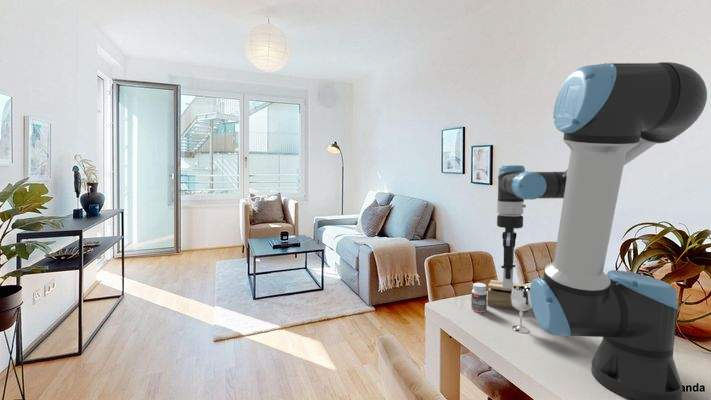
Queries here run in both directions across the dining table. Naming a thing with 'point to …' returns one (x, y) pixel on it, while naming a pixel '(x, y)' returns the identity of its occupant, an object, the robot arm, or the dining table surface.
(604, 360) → the robot arm
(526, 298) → the wineglass
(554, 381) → the dining table surface
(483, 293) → the pill bottle
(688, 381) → the dining table surface
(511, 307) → the crate
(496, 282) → the lid
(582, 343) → the dining table surface
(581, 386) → the dining table surface
